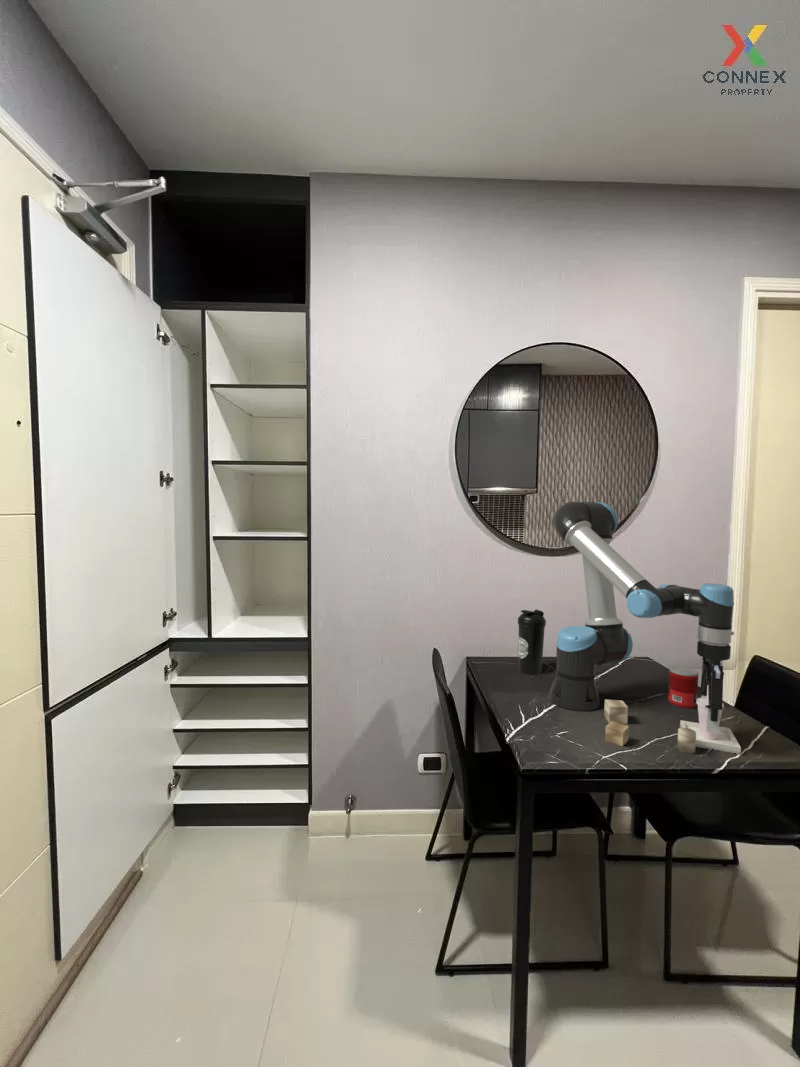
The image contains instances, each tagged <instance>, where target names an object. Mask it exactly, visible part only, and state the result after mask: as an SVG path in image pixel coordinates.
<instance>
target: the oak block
mask: <svg viewBox="0 0 800 1067" xmlns="http://www.w3.org/2000/svg"><path fill="white" fill-rule="evenodd" d="M629 728H630V726H629V725H627V724H620V723H616V722H613V721H611V722H610V723H609V722H608V724H607V725H605V734H604V735H605V736H604V741H606V742H609V743H611V744H613V745H617V746H621V747H624V745H626V744H627V742H628V741H629V733H630V732H629V730H630V729H629Z"/></svg>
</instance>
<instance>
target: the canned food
mask: <svg viewBox="0 0 800 1067" xmlns="http://www.w3.org/2000/svg"><path fill="white" fill-rule="evenodd" d="M698 686H699V672H698V670H695V669H693V668H690V667H686V666H676V665H675V666H671V667H669V674H668V694H667V699H668V702H669V704H671V705H673V706H675V707H678V708H681V709H682V708H683V709H695V708H696V707H697V706H698V704H697V703H696V702H697V698H698V693H699V692H698V689H699V687H698Z"/></svg>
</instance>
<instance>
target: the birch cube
mask: <svg viewBox="0 0 800 1067" xmlns="http://www.w3.org/2000/svg"><path fill="white" fill-rule="evenodd" d="M603 710H604V712H603V716H604V717H605V719H606V721H607V722H608V724H609V723H610V722H611V721H613V722H616V723H620V724H623V725H628V713H629V711H628V710H629V707H628V705H627V704H626V703H625V702H624V701H623V700H619V699H618V700H617V699H606V698H605V699H604V709H603Z"/></svg>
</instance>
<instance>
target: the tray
mask: <svg viewBox="0 0 800 1067" xmlns="http://www.w3.org/2000/svg"><path fill="white" fill-rule="evenodd" d="M679 721H680V722H679V728H689V729H692V730H694V731H695V732H696V745H695V748H696V747H697V748H703V749H706V748H707V750H712V749H714V750H713V751H717V750H719V751H720V752H723V751H724V752H723V753H729V752H730V754H734V753H736V754H735V755H740V754H741V751H742V748H741V745H740V743H739V741H738V740H737V738H736V737H735V735H734V733H733V732H732V730H731V728H730V727H726V726H724V727H723V726H719V734H718V733H717V738H716V740H709V739H705V738H703V737H701V736H700V726H699V722H696V721H695V722H694V721H687V720H683V719H682V720H681V719H680V720H679ZM719 751H718V752H719Z"/></svg>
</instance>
